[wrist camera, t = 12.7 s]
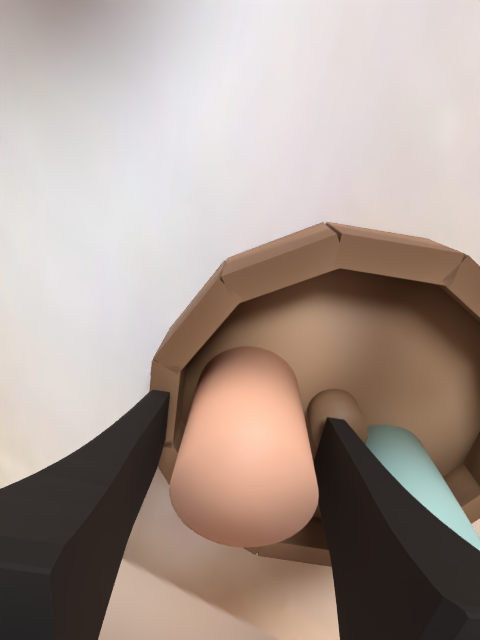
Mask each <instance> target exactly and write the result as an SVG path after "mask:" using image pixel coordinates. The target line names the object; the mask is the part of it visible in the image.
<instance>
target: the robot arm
mask: <svg viewBox="0 0 480 640" xmlns="http://www.w3.org/2000/svg"><path fill="white" fill-rule="evenodd" d="M169 399H170V392H166V391H159V390H151V391H150V392H149V393H148V394H147V395H146V396H145V397H143V398H142V399H141V400H140V401H139V402H138V403H137V404H136V405H135V406H134V407H133V408H132V409H130V410H129V411H128V412H127V413H126V414H125V415H124V416H122V417H121V418H120V419H119V420H118V421H116V422H115V423H114V424H113V425H111V426H110V427H109V428H108V429H106V430H105V431H104V432H102V433H101V434H100V435H98V436H97V437H96V438H94V439H93V440H91V441H90V442H89V443H87V444H86V445H84V446H83V447H81V448H80V449H78V450H76V451H75V452H73V453H72V454H70V455H68V456H67V457H65V458H63V459H61V460H60V461H58V462H56V463H54V464H52V465H50V466H48V467H46V468H45V469H43V470H41V471H39V472H37V473H35V474H33V475H31V476H29V477H26V478H24V479H22V480H20V481H18V482H15V483H13V484H11V485H9V486H6V487H4V488H1V489H0V640H98V637H99V634H100V630H101V627H102V623H103V620H104V617H105V613H106V610H107V606H108V603H109V600H110V596H111V593H112V590H113V586H114V583H115V580H116V577H117V573H118V570H119V567H120V564H121V560H122V557H123V554H124V551H125V548H126V544H127V541H128V538H129V536H130V533H131V530H132V528H133V525H134V523H135V520H136V518H137V515H138V513H139V511H140V508H141V506H142V503H143V501H144V498H145V496H146V494H147V491H148V489H149V486H150V484H151V482H152V479H153V477H154V474H155V472H156V469H157V467H158V464H159V461H160V457H161V454H162V450H163V447H164V443H165V439H166V430H167V420H168V409H169ZM314 469H315V474H316V479H317V485H318V493H319V498H318V502H319V507H320V512H321V517H322V521H323V526H324V531H325V535H326V540H327V544H328V549H329V554H330V559H331V565H332V570H333V579H334V587H335V596H336V604H337V614H338V624H339V634H340V640H480V551H479V550H478V549H477V548H475V547H474V546H473V545H471V544H470V543H469V542H467V541H466V540H465V539H463V538H462V537H461V536H459V535H458V534H457V533H456V532H454V531H453V530H452V529H451V528H449V527H448V526H447V525H446V524H444V523H443V522H442V521H441V520H439V519H438V518H437V517H436V516H435V515H434V514H432V513H431V512H430V511H429V510H428V509H427V508H426V507H425V506H423V505H422V504H421V503H420V502H419V501H418V500H417V499H416V498H415V497H414V496H413V495H411V494H410V493H409V492H408V491H407V490H406V489H405V488H404V487H403V486H402V485H401V484H400V483H399V482H398V480H397V479H396V478H395V477H394V476H393V475H392V474H391V473H390V472H389V471H388V470H387V469H386V468H385V467H384V466H383V464H382V463H381V462H380V461H379V460H378V459H377V458H376V457H375V455H374V454H373V453H372V452H371V451H370V450H369V448H368V447H367V446H366V445H365V444H364V442H363V441H362V440H361V439H360V438H359V436H358V435H357V434H356V433H355V431H354V430H353V429H352V428H351V427H350V426H349V424H348V423H347V422H346V421H345V420H344V419H337V418H331V417H327V419H326V422H325V426H324V429H323V432H322V435H321V439H320V442H319V445H318V449H317V452H316V455H315V459H314Z"/></svg>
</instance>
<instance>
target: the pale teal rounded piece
mask: <svg viewBox="0 0 480 640" xmlns="http://www.w3.org/2000/svg"><path fill="white" fill-rule="evenodd" d="M368 431H369V435H368V440H367V442H366V443H365V445H366V446H367V447H368V448H369V450H370V451H371V452H372V453H373V454H374V455H375V457H376V458H377V459H378V460H379V461H380V462H381V463H382V464H383V466H384V467H385V468H386V469H387V470H388V471H389V472H390V473H391V474H392V475H393V476H394V477H395V478H396V479H397V480H398V482H399V483H400V484H401V485H402V486H403V487H404V488H405V489H406V490H407V491H408V492H409V493H410V494H411V495H413V496H414V497H415V498H416V499H417V500H418V501H419V502H420V503H421V504H422V505H423V506H425V507H426V508H427V509H428V510H429V511H430V512H431V513H432V514H434V515H435V516H436V517H437V518H438V519H439V520H441V521H442V522H443V523H444V524H446V525H447V526H448V527H449V528H451V529H452V530H453V531H454V532H456V533H457V534H458V535H459V536H461V537H462V538H463V539H465V540H466V541H467V542H469V543H470V544H471V545H473V546H474V547H475V548H477V549H478V550H479V551H480V538H479V536H478V534H477V533H476V531H475V529H474V528H473V526H472V524H471V523H470V521H469V520H468V518H467V516H466V515H465V513H464V511H463V510H462V508H461V506H460V505H459V503H458V502H457V500H456V498H455V497H454V495H453V493H452V492H451V490H450V489H449V487H448V485H447V484H446V482H445V480H444V479H443V477H442V475H441V474H440V472H439V471H438V469H437V467H436V466H435V464H434V462H433V461H432V459H431V457H430V456H429V454H428V453H427V451H426V449H425V448H424V446H423V444H422V443H421V441H420V440H419V439H418V438H417V437H416V436H415V435H414V434H413V433H411V432H409V431H408V430H406V429H403V428H400V427H397V426H392V425H374V426H368Z"/></svg>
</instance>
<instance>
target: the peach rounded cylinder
mask: <svg viewBox="0 0 480 640" xmlns="http://www.w3.org/2000/svg"><path fill="white" fill-rule="evenodd" d="M169 490H170V498H171V502H172V505H173V507H174V510H175V512H176V513H177V515H178V516H179V518H180V519H181V520H182V521H183V522H184V523H185V524H186V525H187V526H188V527H189V528H190V529H191V530H193V531H194V532H196V533H197V534H199V535H200V536H202V537H204V538H206V539H209V540H211V541H213V542H216V543H219V544H223V545H228V546H234V547H261V546H267V545H271V544H275V543H278V542H281V541H283V540H285V539H287V538H290V537H291V536H293V535H294V534H296V533H297V532H299V531H300V530H301V529H302V528H303V527H304V526H305V525H306V524H307V523H308V522H309V521H310V519H311V518H312V516H313V514H314V512H315V510H316V507H317V504H318V498H319V493H318V485H317V479H316V474H315V469H314V464H313V459H312V454H311V448H310V443H309V438H308V433H307V428H306V423H305V417H304V412H303V407H302V402H301V397H300V391H299V386H298V382H297V378H296V376H295V373H294V371H293V370H292V368H291V367H290V366H289V364H288V363H287V362H286V361H285V360H284V359H283V358H281V357H280V356H278V355H277V354H275V353H273V352H271V351H269V350H266V349H263V348H259V347H252V346H243V347H236V348H231V349H228V350H225V351H223V352H221V353H219V354H218V355H216V356H215V357H213V358H212V359H211V360H210V361H209V362H208V363H207V364H206V365H205V367H204V368H203V370H202V372H201V374H200V377H199V380H198V384H197V387H196V391H195V395H194V398H193V402H192V405H191V409H190V413H189V416H188V420H187V423H186V427H185V431H184V434H183V438H182V441H181V445H180V449H179V452H178V456H177V459H176V463H175V467H174V470H173V474H172V477H171V481H170V489H169Z"/></svg>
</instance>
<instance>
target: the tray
mask: <svg viewBox="0 0 480 640" xmlns="http://www.w3.org/2000/svg"><path fill="white" fill-rule="evenodd" d="M243 346H252V347H259V348H263V349H266V350H269V351H271V352H273V353H275V354H277V355H278V356H280V357H281V358H283V359H284V360H285V361H286V362H287V363H288V364H289V366H290V367H291V368H292V370H293V371H294V373H295V376H296V378H297V382H298V386H299V391H300V397H301V402H302V407H303V412H304V417H305V423H306V428H307V433H308V438H309V443H310V448H311V454H312V459H313V464H314V459H315V455H316V452H317V449H318V445H319V442H320V439H321V435H322V432H323V429H324V426H325V422H326V419H327V417H331V418H337V419H344V420H345V421H346V422H347V423H348V424H349V426H350V427H351V428H352V429H353V430H354V431H355V433H356V434H357V435H358V436H359V438H360V439H361V440H362V441H363V442H364V444H365V443H366V442H367V440H368V435H369V431H368V426H374V425H392V426H397V427H400V428H403V429H406V430H408V431H409V432H411V433H413V434H414V435H415V436H416V437H417V438H418V439H419V440H420V441H421V443H422V444H423V446H424V448H425V449H426V451H427V453H428V454H429V456H430V457H431V459H432V461H433V462H434V464H435V466H436V467H437V469H438V471H439V472H440V474H441V475H442V477H443V479H444V480H445V482H446V484H447V485H448V487H449V489H450V490H451V492H452V493H453V495H454V497H455V498H456V500H457V502H458V503H459V505H460V506H461V508H462V510H463V511H464V513H465V515H466V516H467V518H468V520H469V521H470V523H471V524H472V523H473V522H475V521H476V520H478V519H480V266H479V265H478V264H477V263H476V262H475V261H474V260H473V259H472V258H471V257H470V256H468V255H466V254H464V253H462V252H459V251H457V250H454V249H452V248H449V247H447V246H444V245H442V244H439V243H437V242H434V241H432V240H429V239H426V238H420V237H414V236H408V235H402V234H396V233H390V232H384V231H378V230H372V229H366V228H360V227H354V226H348V225H342V224H336V223H330V222H327V223H326V225H325V224H324V223H323V222H322V223H320V224H317V225H314V226H312V227H309V228H306V229H304V230H301V231H298V232H296V233H293V234H291V235H288V236H285V237H283V238H280V239H277V240H275V241H272V242H269V243H267V244H264V245H261V246H259V247H256V248H253V249H251V250H248V251H245V252H243V253H240V254H237V255H235V256H232V257H229V258H228V259H227V262H226V261H224V262H223V263H222V264H221V265H220V267H219V268H218V269H217V270H216V272H215V273H214V274H213V275H212V277H211V278H210V279H209V280H208V282H207V283H206V284H205V285H204V287H203V288H202V289H201V290H200V292H199V293H198V294H197V295H196V297H195V298H194V299H193V300H192V302H191V303H190V304H189V305H188V307H187V308H186V309H185V310H184V312H183V313H182V314H181V315H180V317H179V318H178V319H177V320H176V322H175V323H174V324H173V325H172V327H171V328H170V329H169V331H168V333H167V335H166V336H165V338H164V340H163V342H162V343H161V345H160V347H159V349H158V351H157V352H156V354H155V356H154V358H153V361H152V366H151V381H150V391H151V390H159V391H166V392H170V399H169V409H168V420H167V430H166V439H165V443H164V447H163V450H162V454H161V457H160V461H159V464H158V467H159V468H160V470H161V472H162V473H163V475H164V477H165V478H166V480H167V482H168V483H169V485H170V481H171V477H172V474H173V470H174V467H175V463H176V459H177V456H178V452H179V449H180V445H181V441H182V438H183V434H184V431H185V427H186V423H187V420H188V416H189V413H190V409H191V405H192V402H193V398H194V395H195V391H196V387H197V384H198V380H199V377H200V374H201V372H202V370H203V368H204V367H205V365H206V364H207V363H208V362H209V361H210V360H211V359H212V358H213V357H215V356H216V355H218V354H219V353H221V352H223V351H225V350H228V349H231V348H236V347H243ZM243 548H245V549H247V550H248V551H250V552H252V553H253V554H256V553H258V556H264V557H270V558H277V559H284V560H290V561H297V562H304V563H310V564H317V565H324V566H330V567H332V565H331V559H330V554H329V549H328V544H327V540H326V535H325V531H324V526H323V521H322V517H321V512H320V507H319V502H318V504H317V507H316V510H315V512H314V514H313V516H312V518H311V519H310V521H309V522H308V523H307V524H306V525H305V526H304V527H303V528H302V529H301V530H300V531H299V532H297V533H296V534H294V535H293V536H291V537H290V538H287V539H285V540H283V541H281V542H278V543H275V544H271V545H267V546H261V547H243Z"/></svg>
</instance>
